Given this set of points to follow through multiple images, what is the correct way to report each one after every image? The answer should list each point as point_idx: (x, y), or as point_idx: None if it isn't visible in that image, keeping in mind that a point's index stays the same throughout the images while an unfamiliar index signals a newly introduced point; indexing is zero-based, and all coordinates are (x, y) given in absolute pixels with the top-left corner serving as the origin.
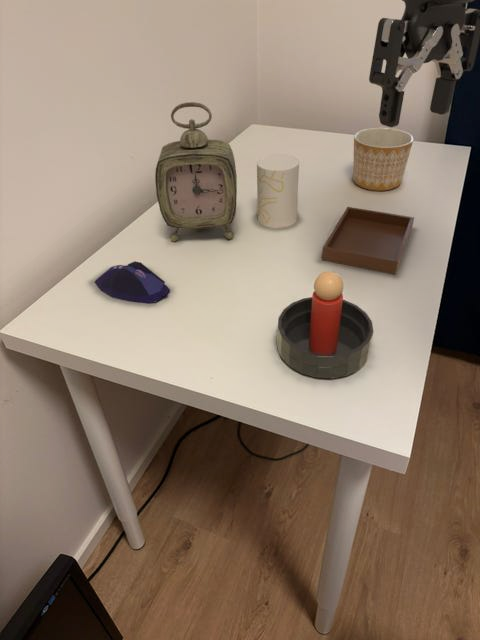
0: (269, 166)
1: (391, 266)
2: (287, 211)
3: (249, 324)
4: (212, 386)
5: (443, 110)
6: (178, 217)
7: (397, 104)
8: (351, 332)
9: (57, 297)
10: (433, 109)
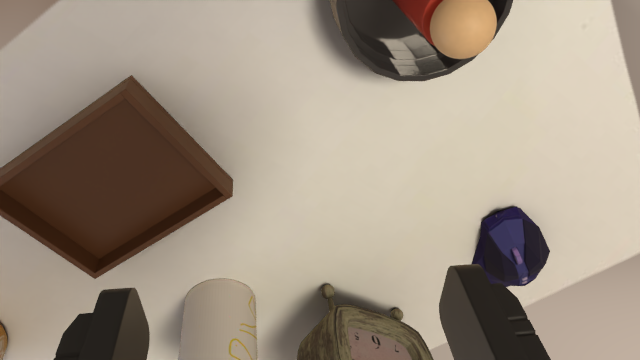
0: None
1: (136, 91)
2: (220, 302)
3: (454, 99)
4: (597, 9)
5: (132, 302)
6: (404, 339)
7: (516, 341)
8: None
9: (586, 266)
10: (144, 332)
